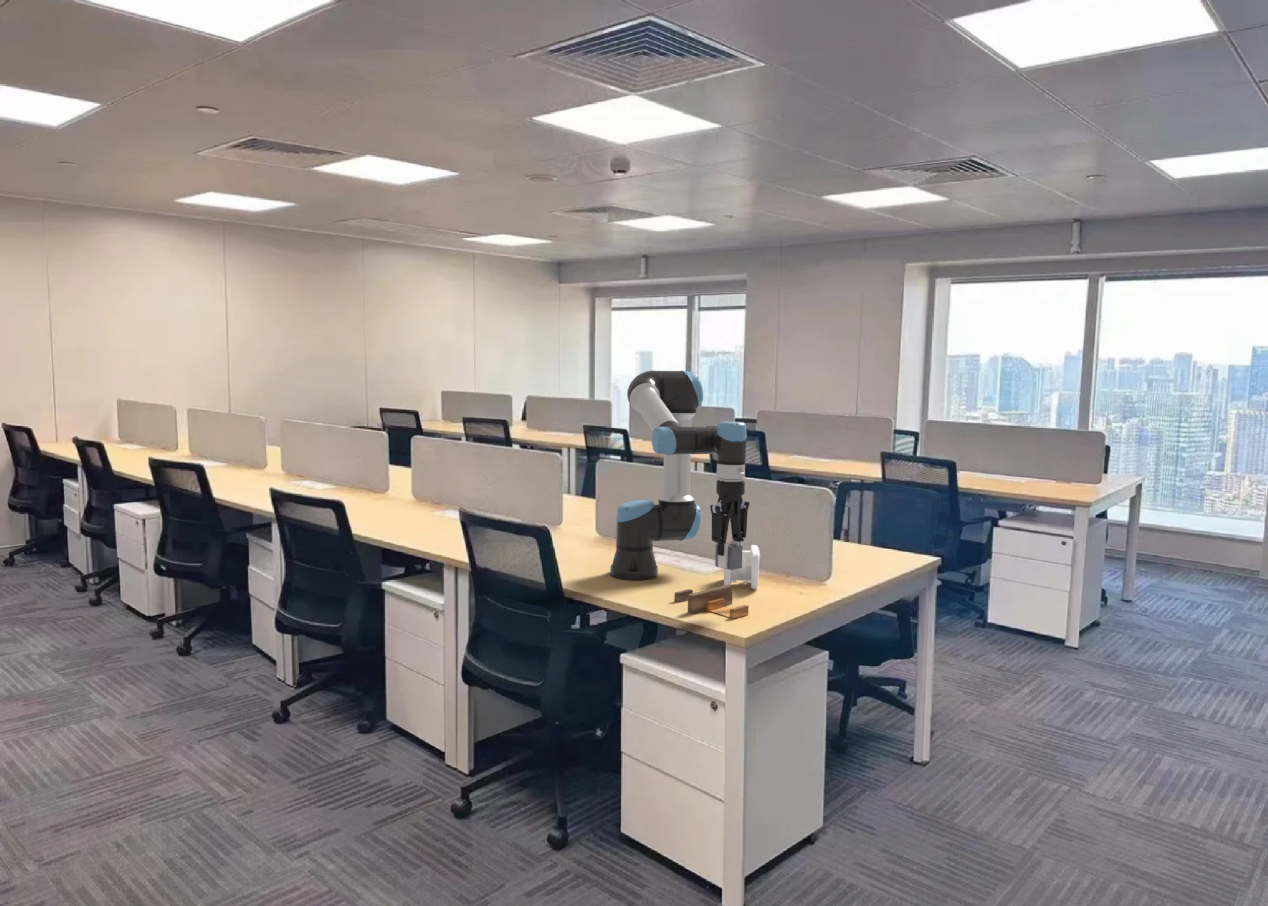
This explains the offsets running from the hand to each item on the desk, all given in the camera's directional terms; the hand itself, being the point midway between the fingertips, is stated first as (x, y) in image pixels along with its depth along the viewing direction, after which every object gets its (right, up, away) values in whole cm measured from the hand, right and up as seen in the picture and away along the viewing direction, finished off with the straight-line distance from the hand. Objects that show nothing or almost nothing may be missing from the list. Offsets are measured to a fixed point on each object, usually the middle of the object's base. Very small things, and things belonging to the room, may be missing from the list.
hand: (728, 565), depth 229 cm
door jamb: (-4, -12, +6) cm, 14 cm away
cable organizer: (+7, -10, +31) cm, 34 cm away
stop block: (0, 0, 0) cm, 0 cm away
